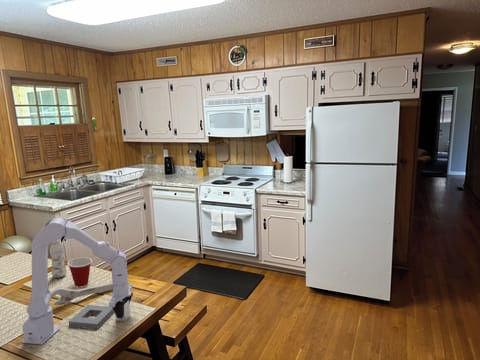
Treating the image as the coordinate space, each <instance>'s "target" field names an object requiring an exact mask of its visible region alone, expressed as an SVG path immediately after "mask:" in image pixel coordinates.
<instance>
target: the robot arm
mask: <svg viewBox="0 0 480 360" xmlns="http://www.w3.org/2000/svg"><path fill="white" fill-rule="evenodd" d="M63 237H64V238H63ZM59 239H60V240H61V239H63V240H72V239H74V240H76V241H77V242H79V243H81V244H82V245H84V246H86V247H88V248H89V249H92V254H93V255H94V256H95V257H97V258H99V259H101V260H102V261H104V262H105V263H107V264H109V265H110V268H111V271H112V272H111V281H112V282H111V283H113V290H112V293H113V294H112V295H111V298H110V300H109V302H108V307H112V308H113V310H114V313H115V314H116V317H117V318H123V308H124V304H125V302H121V301H120V300H122V299H126V300H129V306H130V304H131V300H132V298H133V296H134V293H133V292H131V291H132V290H133V288H134V287H133V284H130V283H129V279H128V278H129V275H128V267H127V265H128V262H127V255H126V253H125V252H124V250H120V249H116V248H115V247H113V246H112V245H110V242H109V241H104V240H101V241H98V240H96V239H95V238H94V237H92V236H91V235H90V234H88V233H87V232H86V231H84V230H83V229H82V228H80V227H79V226H77V225H76V224H75V223H73V222H72V221H70V220H67V219H66V218H65V217H63V216H55V217H53V218H51V219H49V220H48V221H47V222H46V223H45V224H44V225H43V227H42V228H41V229H40V230H39V231H38V233H37V234H36V235H35V236H34V238H33V239H32V241H31V291H30V292H31V293H30V297H29V303H28V305H27V307H26V313H27V314H28V318H27V320H26V321H24V323H23V325H22V333H23V334H22V335H23V340H22V343H24V344H32V345H33V344H34V345H43V344H44V343H45V342H46V341H48V340H49V339H51V337H53V336H54V334H57V332H58V331H59V330H60V329H61V327H58V326H55V322H54V314H53V307H52V305H51V304H50V303H51V301H52V298H53V297H52V295H51V292H50V286H49V284H48V282H49V280H48V279H49V278H48V274H49V273H48V271H49V270H48V269H49V266H48V265H49V264H48V263H49V261H48V259H49V257H48V256H49V254H48V252H49V249H48V248H49V245H50V244H52V242H53V241H56V240H59ZM115 314H114V315H115ZM116 317H115V318H116Z"/></svg>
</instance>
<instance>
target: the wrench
mask: <svg viewBox="0 0 480 360" xmlns="http://www.w3.org/2000/svg"><path fill="white" fill-rule="evenodd" d="M107 291H113V283H112V282H108V283H104V284H100V285H99V284H98V285H94V286H89V287H86V288H84V287H83V288H80V289H69V288H64V287H57V288H55V289H54V290H52V291H51V292H50V293H51V295H52V298H53V297H55V296H57V295H59V296H60V298H59V299H57V300H55V301H54V302H52V304H53V305H56V306H61V305H62V306H63V305H65V306H68V305H69V304H70V302H71V301H73V300H74V299H76V298H79V297H83V296H84V297H85V296H90V295H95V294H99V293H104V292H107Z"/></svg>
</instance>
